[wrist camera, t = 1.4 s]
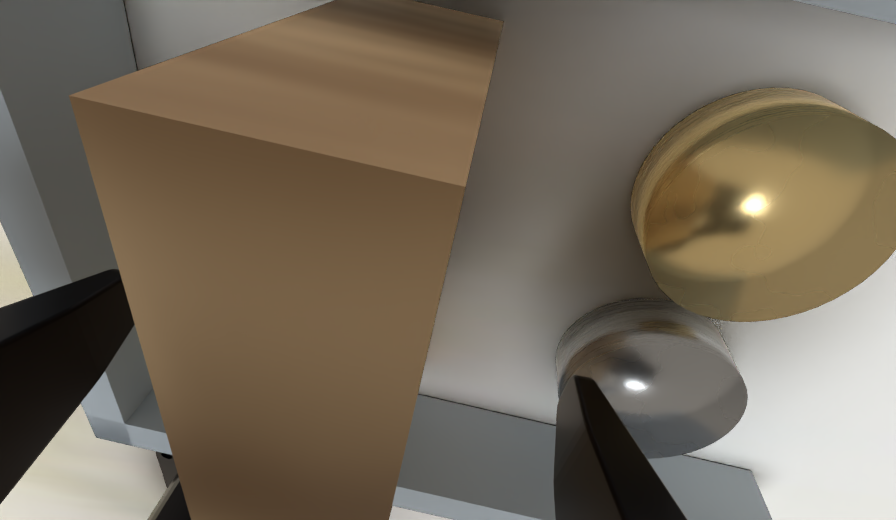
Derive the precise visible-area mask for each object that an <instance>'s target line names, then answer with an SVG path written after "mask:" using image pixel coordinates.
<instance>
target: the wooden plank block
mask: <svg viewBox="0 0 896 520" xmlns="http://www.w3.org/2000/svg"><path fill="white" fill-rule="evenodd" d="M503 23H504V21H500V20H495V19H491V18H487V17H482V16H478V15H474V14H469V13H465V12H460V11H456V10H452V9H447V8H443V7H439V6H434V5H430V4H426V3H421V2H417V1H413V0H335V1H332V2H329V3H326V4H324V5H321V6H318V7H315V8H312V9H310V10H307V11H304V12H301V13H298V14H296V15H293V16H290V17H287V18H284V19H282V20H279V21H276V22H273V23H270V24H268V25H265V26H262V27H259V28H256V29H254V30H251V31H248V32H245V33H242V34H240V35H237V36H234V37H231V38H228V39H226V40H223V41H220V42H217V43H214V44H212V45H209V46H206V47H203V48H200V49H197V50H195V51H192V52H189V53H186V54H183V55H181V56H178V57H175V58H172V59H169V60H167V61H164V62H161V63H158V64H155V65H153V66H150V67H147V68H144V69H141V70H139V71H136V72H133V73H130V74H127V75H125V76H122V77H119V78H116V79H113V80H111V81H108V82H105V83H102V84H99V85H97V86H94V87H91V88H88V89H85V90H83V91H80V92H77V93H74V94H71V95H69V98H70V101H71V105H72V108H73V112H74V115H75V119H76V122H77V126H78V129H79V133H80V136H81V140H82V143H83V146H84V150H85V153H86V157H87V160H88V164H89V167H90V171H91V174H92V178H93V181H94V185H95V188H96V192H97V195H98V199H99V202H100V205H101V209H102V212H103V216H104V219H105V223H106V226H107V230H108V233H109V237H110V240H111V244H112V247H113V251H114V254H115V257H116V261H117V264H118V268H119V271H120V275H121V278H122V282H123V285H124V289H125V292H126V296H127V299H128V303H129V306H130V309H131V313H132V316H133V320H134V323H135V327H136V330H137V334H138V337H139V341H140V344H141V348H142V351H143V355H144V358H145V361H146V365H147V368H148V372H149V375H150V379H151V382H152V386H153V389H154V393H155V396H156V400H157V403H158V407H159V410H160V414H161V417H162V420H163V424H164V427H165V431H166V434H167V438H168V441H169V445H170V448H171V452H172V455H173V459H174V462H175V466H176V469H177V472H178V476H179V479H180V483H181V486H182V490H183V493H184V497H185V500H186V504H187V507H188V511H189V514H190V518H191V520H389V517H390V512H391V508H392V504H393V499H394V495H395V491H396V486H397V482H398V478H399V473H400V469H401V465H402V461H403V456H404V452H405V448H406V443H407V439H408V435H409V430H410V426H411V422H412V417H413V413H414V409H415V404H416V400H417V396H418V391H419V387H420V383H421V378H422V374H423V370H424V365H425V361H426V357H427V352H428V348H429V344H430V339H431V335H432V331H433V326H434V322H435V318H436V313H437V309H438V305H439V300H440V296H441V292H442V287H443V283H444V279H445V274H446V270H447V266H448V261H449V257H450V253H451V248H452V244H453V240H454V235H455V231H456V227H457V222H458V218H459V214H460V209H461V205H462V201H463V196H464V192H465V188H466V183H467V179H468V175H469V170H470V166H471V162H472V157H473V153H474V149H475V144H476V140H477V136H478V131H479V127H480V123H481V118H482V114H483V110H484V105H485V101H486V97H487V92H488V88H489V84H490V79H491V75H492V71H493V66H494V62H495V58H496V53H497V49H498V45H499V40H500V36H501V32H502V27H503Z"/></svg>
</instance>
